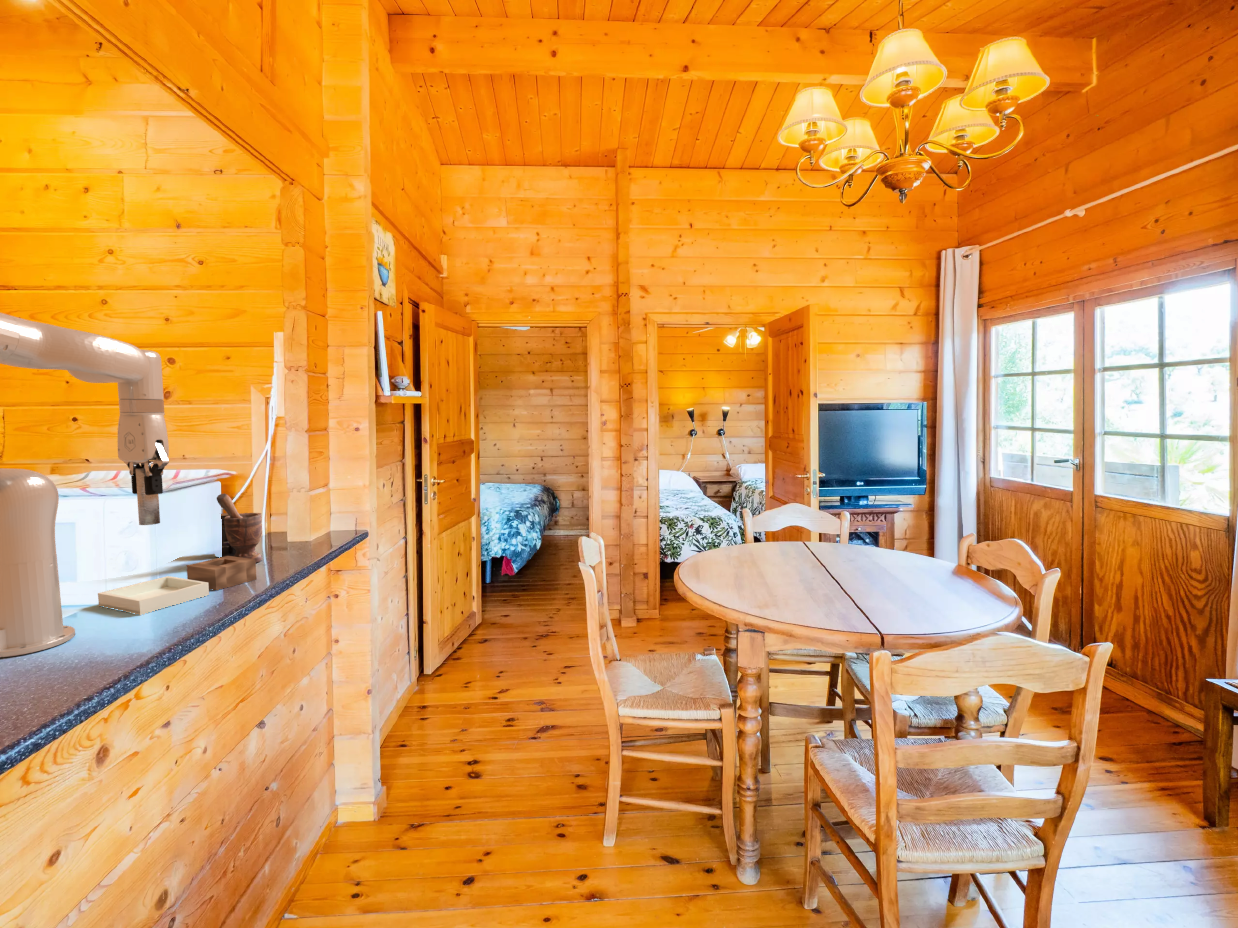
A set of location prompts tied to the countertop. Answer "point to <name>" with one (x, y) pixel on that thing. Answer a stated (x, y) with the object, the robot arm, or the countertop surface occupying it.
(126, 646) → the countertop surface
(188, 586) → the tray
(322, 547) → the countertop surface
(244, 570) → the pin block
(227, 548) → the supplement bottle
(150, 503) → the pin
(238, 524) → the mortar and pestle
